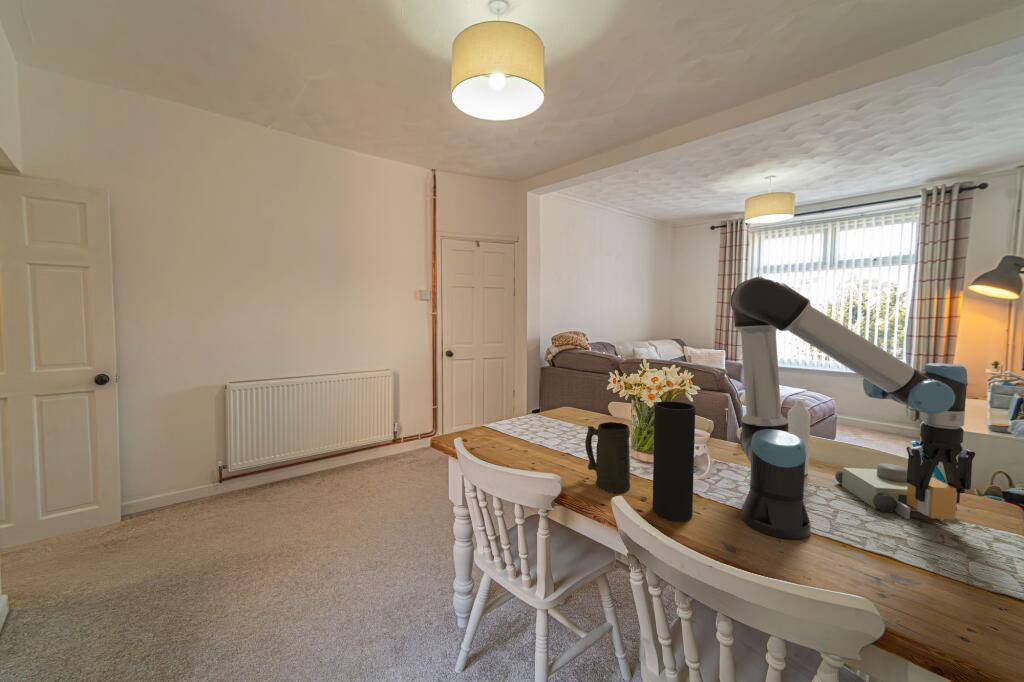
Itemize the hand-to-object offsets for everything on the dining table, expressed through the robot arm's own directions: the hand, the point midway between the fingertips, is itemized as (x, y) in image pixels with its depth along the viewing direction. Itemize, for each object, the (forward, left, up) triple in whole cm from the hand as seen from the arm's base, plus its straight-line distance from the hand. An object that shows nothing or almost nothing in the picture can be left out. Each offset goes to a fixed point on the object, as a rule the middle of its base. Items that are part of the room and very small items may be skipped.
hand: (936, 513), depth 105 cm
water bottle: (-16, +35, -3) cm, 38 cm away
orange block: (0, +2, 0) cm, 2 cm away
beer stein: (-82, +13, -3) cm, 83 cm away
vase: (-65, -3, -3) cm, 65 cm away
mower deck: (0, +14, -3) cm, 14 cm away
